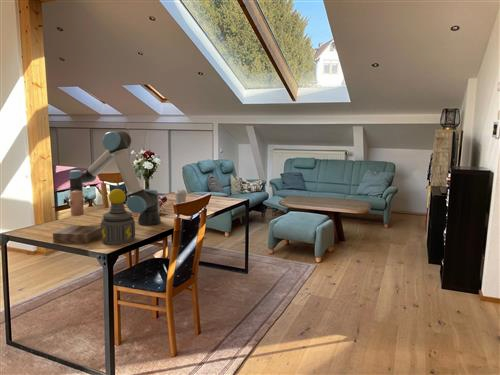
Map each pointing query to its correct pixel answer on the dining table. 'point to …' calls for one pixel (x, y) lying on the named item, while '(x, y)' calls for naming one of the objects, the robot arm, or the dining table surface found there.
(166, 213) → the dining table surface
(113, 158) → the robot arm
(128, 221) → the decorative lamp
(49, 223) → the dining table surface
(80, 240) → the walnut plinth
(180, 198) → the coffee cup
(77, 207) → the terracotta canister
